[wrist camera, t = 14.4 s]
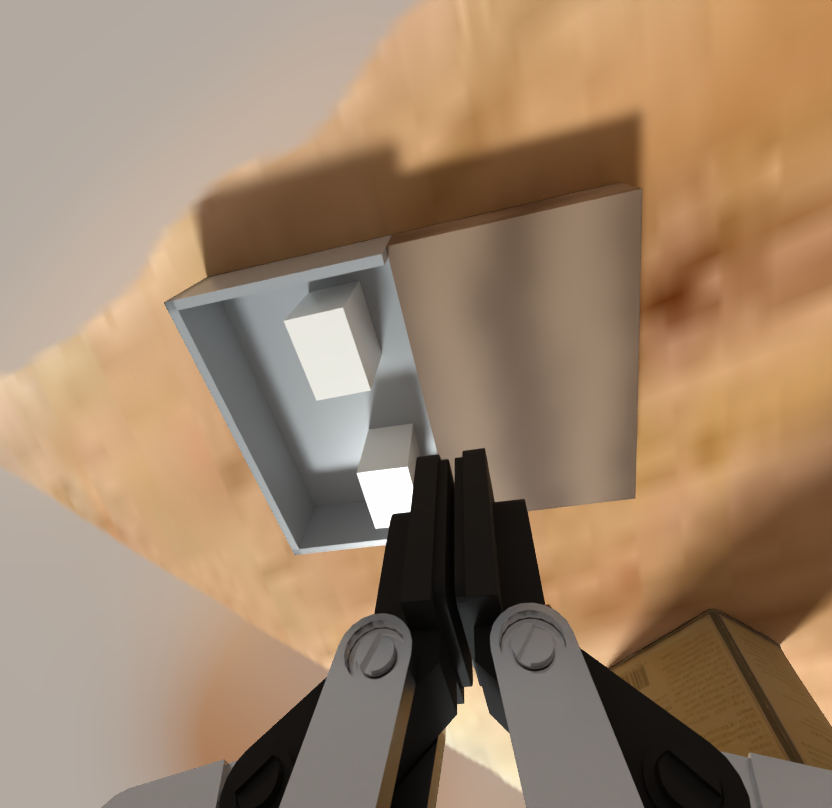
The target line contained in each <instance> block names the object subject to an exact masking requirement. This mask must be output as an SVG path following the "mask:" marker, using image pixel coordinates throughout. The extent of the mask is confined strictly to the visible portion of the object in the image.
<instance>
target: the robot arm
mask: <svg viewBox="0 0 832 808" xmlns="http://www.w3.org/2000/svg"><path fill="white" fill-rule="evenodd" d="M472 660H473V663H474V667H475V671H476V674H477V678H478V681H479V685H480V686H482V688H483V692H484V695H485V699H486V702H487V706H488V710H489V713H490V714H491V715H492V716H493V717H494V718H495V719H496V720H497V721H498V722H499V723H500V724H501V725H502V726H503V727H504V728H505V729H506V730H507V731H508V732H509V733H510V737H511V742H512V746H513V750H514V755H515V759H516V764H517V768H518V773H519V777H520V782H521V786H522V791H523V795H524V799H525V804H526V808H832V771H831V770H827V769H822V768H818V767H813V766H809V765H804V764H800V763H795V762H791V761H786V760H782V759H777V758H773V757H768V756H764V755H759V754H755V753H750V752H749V755H748V757H743V756H739V755H735V754H730V753H726V752H721V751H719V750H718V749H717V748H716V747H714V746H713V745H712V744H711V743H710V742H709V741H707V740H706V739H704V738H703V737H702V736H700V735H699V734H698V733H696V732H695V731H693V730H692V729H691V728H689V727H688V726H687V725H685V724H684V723H682V722H681V721H680V720H678V719H677V718H676V717H674V716H673V715H671V714H670V713H669V712H667V711H666V710H665V709H663V708H662V707H660V706H659V705H658V704H656V703H655V702H654V701H652V700H651V699H649V698H648V697H647V696H645V695H644V694H643V693H641V692H640V691H638V690H637V689H636V688H634V687H633V686H631V685H630V684H629V683H627V682H626V681H625V680H623V679H622V678H620V677H619V676H618V675H616V674H615V673H614V672H612V671H611V670H609V669H608V668H607V667H605V666H604V665H603V664H601V663H600V662H598V661H597V660H596V659H594V658H593V657H592V656H590V655H589V654H587V653H586V652H585V651H583V650H582V649H581V648H580V647H579V645H578V642H577V640H576V637H575V635H574V632H573V630H572V629H571V627H570V625H569V624H568V622H567V620H566V619H565V618H564V617H562V616H561V615H560V614H559V613H558V612H557V611H555V610H553V609H552V608H550V607H548V606H546V605H545V601H544V596H543V591H542V585H541V580H540V575H539V570H538V564H537V559H536V554H535V549H534V543H533V538H532V533H531V528H530V522H529V517H528V512H527V507H526V502H525V499H518V500H509V501H501V502H495V500H494V494H493V489H492V483H491V478H490V473H489V467H488V462H487V456H486V451H485V448H480V449H473V450H465V451H463V452H462V457H458V458H455V483H454V479H453V475H452V470H451V466H450V462H449V459H443V460H441V457H440V455H439V454H436V455H428V456H421V457H417V459H416V466H415V474H414V483H413V491H412V500H411V508H410V512H403V513H394V514H392V516H391V519H390V524H389V530H388V536H387V542H386V548H385V554H384V560H383V566H382V572H381V578H380V584H379V590H378V596H377V602H376V608H375V614H373V615H370V616H367V617H364V618H362V619H361V620H359V621H358V622H356V623H355V624H354V625H352V626H351V628H350V629H349V630H348V631H347V632H346V633H345V634H344V636H343V638H342V640H341V642H340V644H339V646H338V649H337V651H336V654H335V657H334V659H333V662H332V665H331V668H330V670H329V673H328V676H327V677H326V678H325V679H324V680H323V681H322V682H321V683H320V684H319V685H318V686H317V687H315V688H314V689H313V690H312V691H311V692H310V693H309V694H308V695H307V696H306V697H304V698H303V700H301V701H300V702H299V703H298V704H297V705H296V706H295V707H294V708H292V709H291V710H290V711H289V712H288V713H287V714H286V715H285V716H284V717H283V718H282V719H280V720H279V721H278V722H277V723H276V724H275V725H274V726H273V727H272V728H271V729H270V730H269V731H267V732H266V733H265V734H264V735H263V736H262V737H261V738H260V739H259V740H257V742H255V743H254V744H253V745H252V746H251V747H250V748H249V749H248V750H247V751H246V752H245V753H244V754H243V755H242V756H241V757H240V758H239V760H238V761H235V762H232V763H229V764H228V763H227V762H226V761H225V760H221V761H217V762H214V763H211V764H208V765H205V766H201V767H198V768H195V769H191V770H188V771H185V772H181V773H178V774H175V775H172V776H169V777H165V778H162V779H159V780H155V781H152V782H149V783H146V784H142V785H140V786H136V787H132V788H129V789H127V790H125V791H123V792H121V793H119V794H117V795H115V796H114V797H113V798H112V799H111V800H110V801H108V802H107V803H106V804H105V805H104V806H103V807H102V808H435V807H436V801H437V794H438V787H439V780H440V773H441V766H442V759H443V752H444V745H445V730H446V726H447V725H448V724H449V723H450V722H451V721H452V719H453V718H454V717H455V716H456V715H457V704H464V687H469V686H472V685H473V670H472Z"/></svg>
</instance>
